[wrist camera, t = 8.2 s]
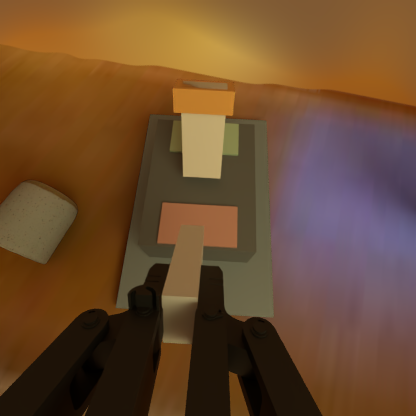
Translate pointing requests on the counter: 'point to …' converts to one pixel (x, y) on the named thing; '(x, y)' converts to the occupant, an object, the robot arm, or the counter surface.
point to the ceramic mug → (35, 220)
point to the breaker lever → (203, 124)
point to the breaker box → (206, 213)
